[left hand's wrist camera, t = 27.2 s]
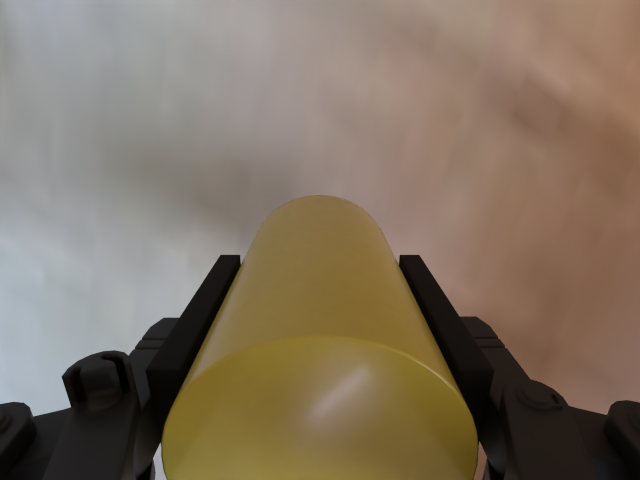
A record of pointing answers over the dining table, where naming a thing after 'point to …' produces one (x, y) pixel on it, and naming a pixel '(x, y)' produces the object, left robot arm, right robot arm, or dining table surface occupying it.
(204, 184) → the dining table surface
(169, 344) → the left robot arm
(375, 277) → the can
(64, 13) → the dining table surface
